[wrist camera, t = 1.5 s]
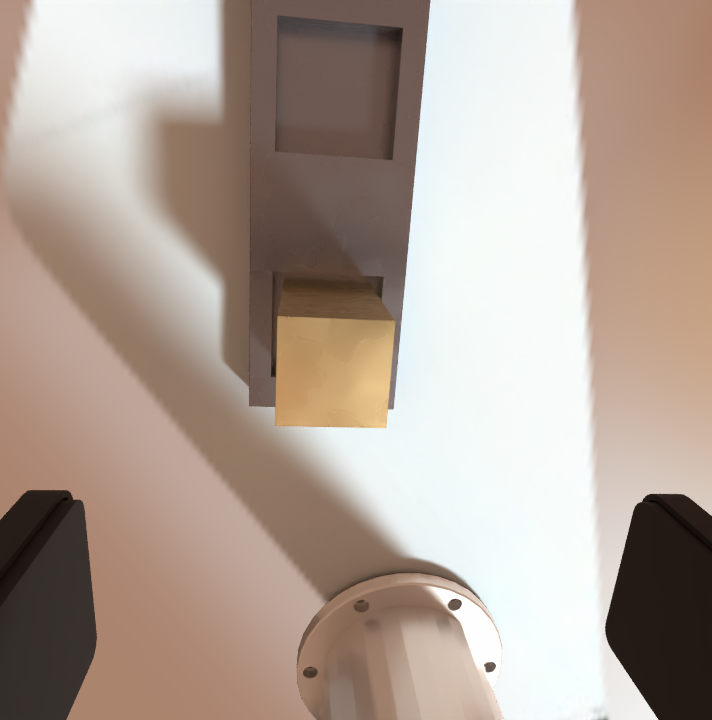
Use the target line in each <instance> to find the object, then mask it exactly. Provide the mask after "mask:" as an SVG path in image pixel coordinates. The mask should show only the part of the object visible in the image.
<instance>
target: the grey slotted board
mask: <svg viewBox="0 0 712 720" xmlns="http://www.w3.org/2000/svg"><path fill="white" fill-rule="evenodd" d="M429 9H430V0H251V171H250V360H249V406H266V407H276V365H277V317H278V311H279V306H280V300H281V295H282V290H283V285H284V279H285V278H295V279H316V280H337V281H358V282H369V283H370V285H371V286H372V288H373V289H374V291H375V292H376V294H377V295H378V297H379V298H380V299H381V301H382V302H383V304H384V305H385V307H386V308H387V310H388V311H389V312H390V314H391V315H392V317H393V318H394V320H395V332H394V343H393V355H392V366H391V378H390V389H389V401H388V409H393V408H394V397H395V386H396V375H397V364H398V353H399V342H400V331H401V320H402V309H403V298H404V286H405V275H406V264H407V253H408V242H409V231H410V220H411V209H412V198H413V187H414V176H415V165H416V153H417V142H418V131H419V120H420V109H421V98H422V87H423V76H424V65H425V54H426V43H427V32H428V20H429Z"/></svg>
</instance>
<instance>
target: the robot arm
mask: <svg viewBox="0 0 712 720" xmlns="http://www.w3.org/2000/svg"><path fill="white" fill-rule="evenodd" d="M605 631H606V637H607V641H608V643H609V646H610V647H611V649H612V651H613V652H614V654H615V655H616V657H617V658H618V660H619V661H620V663H621V664H622V665H623V667H624V669H625V670H626V672H627V673H628V675H629V676H630V678H631V679H632V681H633V682H634V684H635V685H636V687H637V688H638V690H639V691H640V693H641V694H642V696H643V697H644V699H645V700H646V702H647V703H648V705H649V706H650V708H651V709H652V711H653V712H654V714H655V715H656V717H657V718H658V720H712V516H711V515H710V514H708V513H707V512H706V511H705V510H703V509H702V508H701V507H700V506H699V505H697V504H696V503H695V502H694V501H692V500H691V499H690V498H688V497H687V496H685V495H682V494H649V495H647V496H646V497H645V498H644V499H643V501H642V502H640V503H638V504H637V505H636V506H635V509H634V511H633V515H632V519H631V523H630V527H629V532H628V536H627V539H626V544H625V548H624V552H623V556H622V560H621V564H620V568H619V572H618V576H617V580H616V584H615V588H614V592H613V596H612V600H611V604H610V609H609V612H608V616H607V620H606V626H605ZM96 635H97V633H96V623H95V613H94V603H93V592H92V582H91V572H90V562H89V551H88V541H87V531H86V521H85V511H84V505H83V502H82V501H81V500H73V498H72V495H71V493H70V492H69V491H67V490H62V491H61V490H30V491H27V492H26V493H24V494H23V495H22V496H21V498H20V499H19V500H18V501H17V502H16V503H15V504H14V505H13V506H12V508H11V509H10V510H9V511H8V512H7V513H6V514H5V515H4V516H3V518H2V519H1V520H0V720H66V719H67V717H68V715H69V712H70V710H71V708H72V705H73V703H74V701H75V699H76V696H77V694H78V692H79V690H80V687H81V685H82V683H83V681H84V678H85V676H86V674H87V672H88V669H89V667H90V665H91V662H92V660H93V657H94V653H95V648H96V640H97V636H96ZM501 663H502V645H501V641H500V636H499V632H498V630H497V628H496V625H495V623H494V621H493V619H492V616H491V614H490V613H489V611H488V610H487V609H486V607H485V606H484V604H483V603H482V602H481V601H480V600H479V599H478V598H477V597H476V596H475V595H474V594H473V593H472V592H470V591H469V590H467V589H466V588H464V587H462V586H461V585H459V584H457V583H455V582H453V581H450V580H447V579H444V578H441V577H438V576H433V575H427V574H421V573H397V574H391V575H385V576H380V577H376V578H373V579H370V580H367V581H364V582H361V583H358V584H356V585H355V586H353V587H351V588H349V589H347V590H345V591H343V592H341V593H340V594H338V595H337V596H336V597H335V598H333V599H332V600H331V601H329V602H328V603H327V604H325V605H324V607H323V608H322V609H321V610H320V611H319V612H318V613H317V614H316V615H315V616H314V618H313V619H312V621H311V622H310V624H309V626H308V627H307V629H306V630H305V632H304V634H303V637H302V640H301V643H300V646H299V649H298V658H297V683H298V687H299V691H300V694H301V698H302V700H303V701H304V703H305V705H306V707H307V708H308V710H309V712H310V713H311V714H312V715H313V716H314V717H315V718H316V719H317V720H504V718H503V715H502V713H501V710H500V707H499V705H498V702H497V699H496V697H495V694H494V692H493V687H494V685H495V683H496V681H497V678H498V676H499V672H500V667H501Z"/></svg>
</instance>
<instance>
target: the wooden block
mask: <svg viewBox="0 0 712 720" xmlns="http://www.w3.org/2000/svg"><path fill="white" fill-rule="evenodd" d="M394 332H395V320H394V318H393V317H392V315H391V314H390V312H389V311H388V310H387V308H386V307H385V305H384V304H383V302H382V301H381V299H380V298H379V297H378V295H377V294H376V292H375V291H374V289H373V288H372V286H371V285H370V283H369V282H358V281H337V280H316V279H295V278H285V279H284V285H283V290H282V295H281V300H280V306H279V311H278V317H277V365H276V413H275V426H306V427H360V428H386V424H387V412H388V401H389V389H390V378H391V366H392V355H393V343H394Z"/></svg>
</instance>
